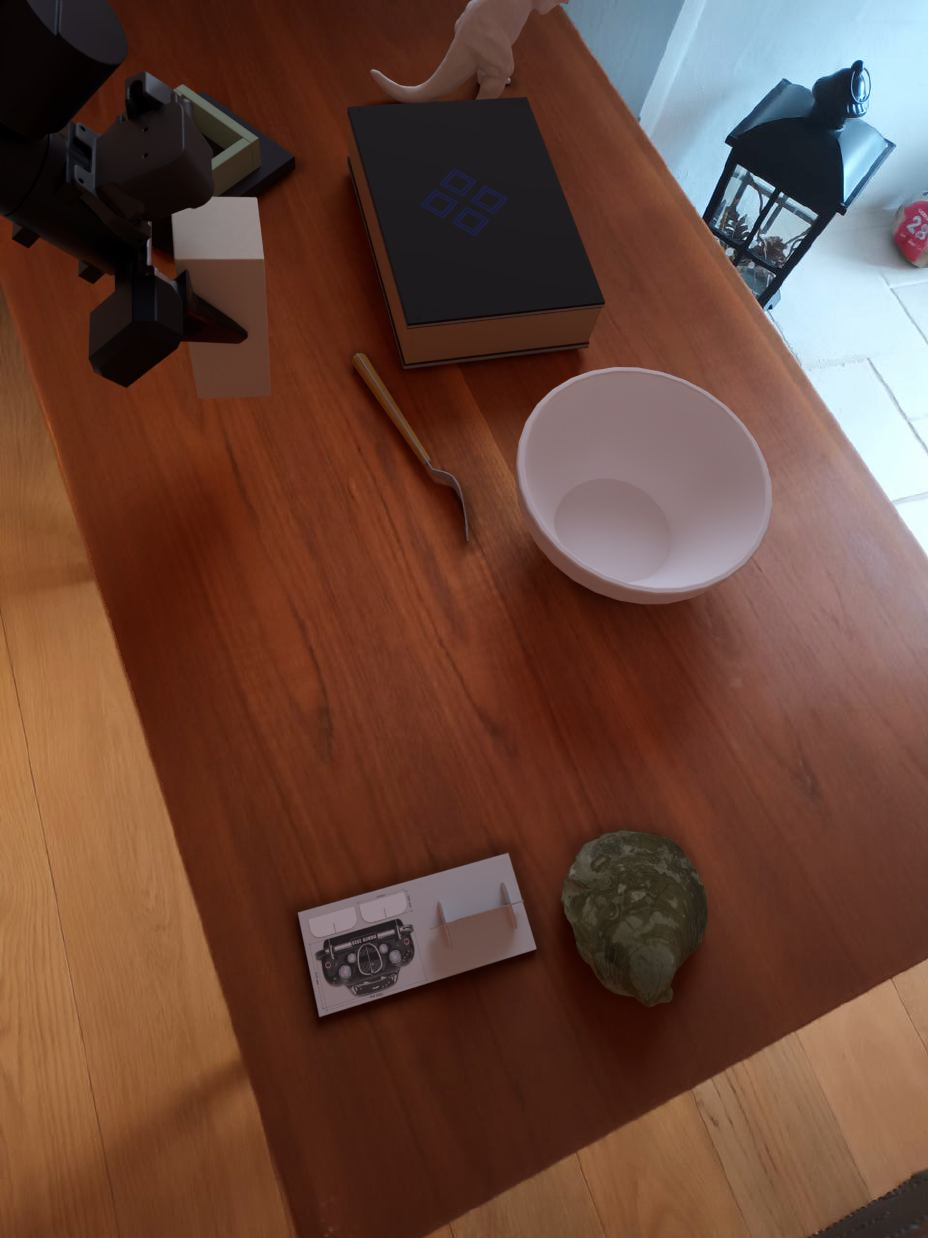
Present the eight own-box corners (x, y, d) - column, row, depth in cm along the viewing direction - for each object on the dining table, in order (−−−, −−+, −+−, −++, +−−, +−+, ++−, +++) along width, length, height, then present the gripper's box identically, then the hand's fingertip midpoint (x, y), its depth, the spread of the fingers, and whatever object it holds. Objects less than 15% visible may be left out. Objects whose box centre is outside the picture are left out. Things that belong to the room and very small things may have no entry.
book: (514, 156, 89) (527, 95, 83) (586, 353, 80) (606, 301, 74) (346, 168, 85) (347, 105, 79) (402, 375, 76) (407, 323, 70)
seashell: (685, 814, 63) (736, 909, 54) (692, 894, 66) (741, 997, 56) (546, 840, 63) (573, 940, 53) (559, 919, 66) (586, 1027, 56)
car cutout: (507, 853, 62) (519, 844, 58) (535, 949, 60) (549, 947, 56) (297, 913, 59) (294, 907, 54) (319, 1017, 56) (317, 1019, 52)
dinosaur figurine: (539, 57, 95) (572, -96, 81) (569, 119, 92) (608, -30, 78) (361, 73, 90) (365, -87, 77) (386, 139, 87) (395, -16, 74)
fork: (343, 353, 75) (465, 533, 69) (362, 342, 75) (485, 521, 69) (349, 370, 77) (468, 545, 71) (367, 359, 77) (487, 533, 71)
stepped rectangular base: (174, 255, 78) (165, 217, 74) (78, 183, 80) (65, 143, 76) (295, 166, 84) (293, 127, 80) (204, 101, 86) (198, 60, 82)
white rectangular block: (197, 399, 65) (174, 259, 53) (193, 342, 67) (169, 195, 55) (271, 396, 66) (264, 259, 54) (264, 341, 68) (257, 196, 56)
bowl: (552, 674, 67) (583, 629, 59) (460, 467, 74) (476, 398, 65) (762, 601, 72) (820, 549, 64) (660, 413, 79) (700, 342, 70)
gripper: (101, 212, 41) (335, 359, 53) (107, -41, 48) (313, 140, 60) (-17, 328, 47) (218, 437, 59) (3, 87, 54) (210, 229, 66)
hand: (242, 306), depth 61 cm, fingers closed on white rectangular block, 5 cm apart
